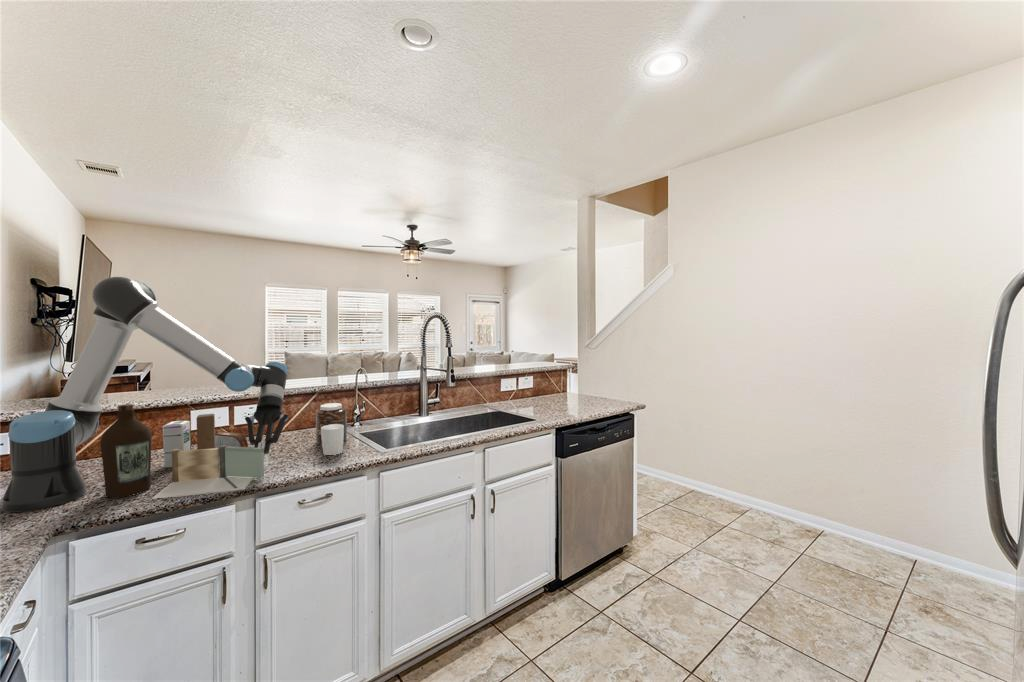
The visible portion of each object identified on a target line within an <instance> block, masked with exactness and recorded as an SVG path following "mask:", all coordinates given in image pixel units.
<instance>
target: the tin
mask: <svg viewBox="0 0 1024 682" xmlns="http://www.w3.org/2000/svg"><path fill="white" fill-rule="evenodd" d="M223 445H226V447H228V446H230V447H249V444H248V441H247V438H246V436H244V435H243V434H241V433H240V432H232V431H223V430H222V431H219V432H215V448H219V446H223Z"/></svg>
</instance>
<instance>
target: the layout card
mask: <svg viewBox="0 0 1024 682" xmlns="http://www.w3.org/2000/svg"><path fill="white" fill-rule="evenodd" d="M253 480H254V478H250V477H231V476H226V477H220V476H219V477H218V478H210V479H200V480H190V481H179V482H173V481H172V482H170V483H169V484H168V485H166V486H165V487H164V488H163V489H162V490H160V491H159V492H158V493H156V494H155V495H154V496H153V497H151V500H152V499H153V500H158V499H157V498H163V499H169V498H170V497H172V498H179V497H189V496H198V495H200V496H201V495H209V494H218V493H219V494H220V493H225V492H226V493H227V492H236V491H245V490H246V489H247V487H248V486H249V485H250V483H252V481H253ZM168 497H169V498H168ZM170 499H171V498H170Z"/></svg>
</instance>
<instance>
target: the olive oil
mask: <svg viewBox="0 0 1024 682" xmlns="http://www.w3.org/2000/svg"><path fill="white" fill-rule="evenodd" d="M117 409H118V410H117V419H116V421H114V422H113V424H111V425H110V426H109V427H108V428H107V429H106V430H105V431H103V433H102V436H101V439H100V451H101V458H102V469H103V478H104V492H105V497H106V496H107V497H106V498H108V497H111V498H110V499H118V498H117V497H122V498H125V497H124V496H128V497H130V496H129V495H132V496H134V495H133V494H136V495H138V494H137V493H139V494H141V493H140V492H142V493H144V492H146V491H148V490H149V489H151V485H152V484H151V480H152V479H151V472H152V471H151V470H152V469H151V468H152V466H151V465H152V462H151V461H152V437H153V436H152V435H153V434H152V432H151V430H150V428H149V427H148V425H146V424H145V423H142V422H141V421H140V420H139V419H137V418H136V417H135V409H134V404H132V403H129V404H128V403H126V404H120V405H118V406H117ZM143 491H144V492H143Z"/></svg>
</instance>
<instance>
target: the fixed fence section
mask: <svg viewBox="0 0 1024 682" xmlns="http://www.w3.org/2000/svg"><path fill="white" fill-rule="evenodd" d="M225 447H226V445H223V446H219V448H212V449H199V450H197V449H191V450H186V451H180V449H174V450H172V467H171V468H172V482H179V481H190V480H200V479H210V478H218V477H219V476H220V477H226V470H225Z"/></svg>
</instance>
